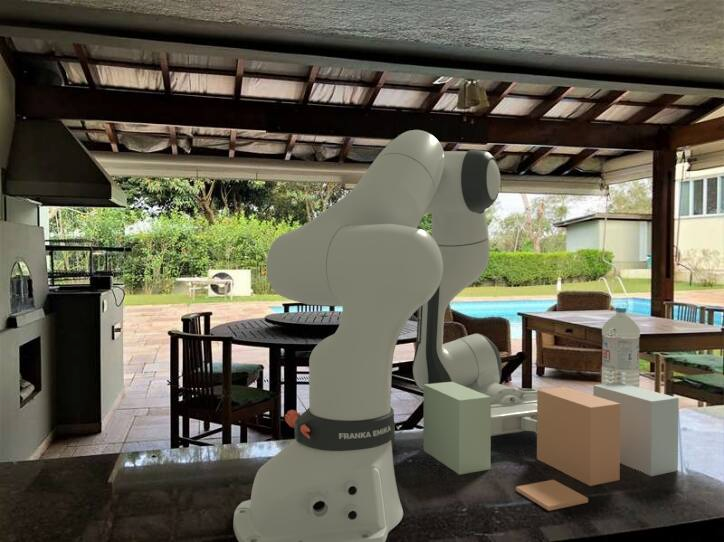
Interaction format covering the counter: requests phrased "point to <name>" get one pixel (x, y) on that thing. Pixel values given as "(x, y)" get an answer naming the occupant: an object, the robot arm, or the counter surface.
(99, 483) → the counter surface
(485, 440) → the sage block
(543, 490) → the tile
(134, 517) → the counter surface
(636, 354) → the water bottle
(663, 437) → the blue-grey block
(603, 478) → the terracotta block
